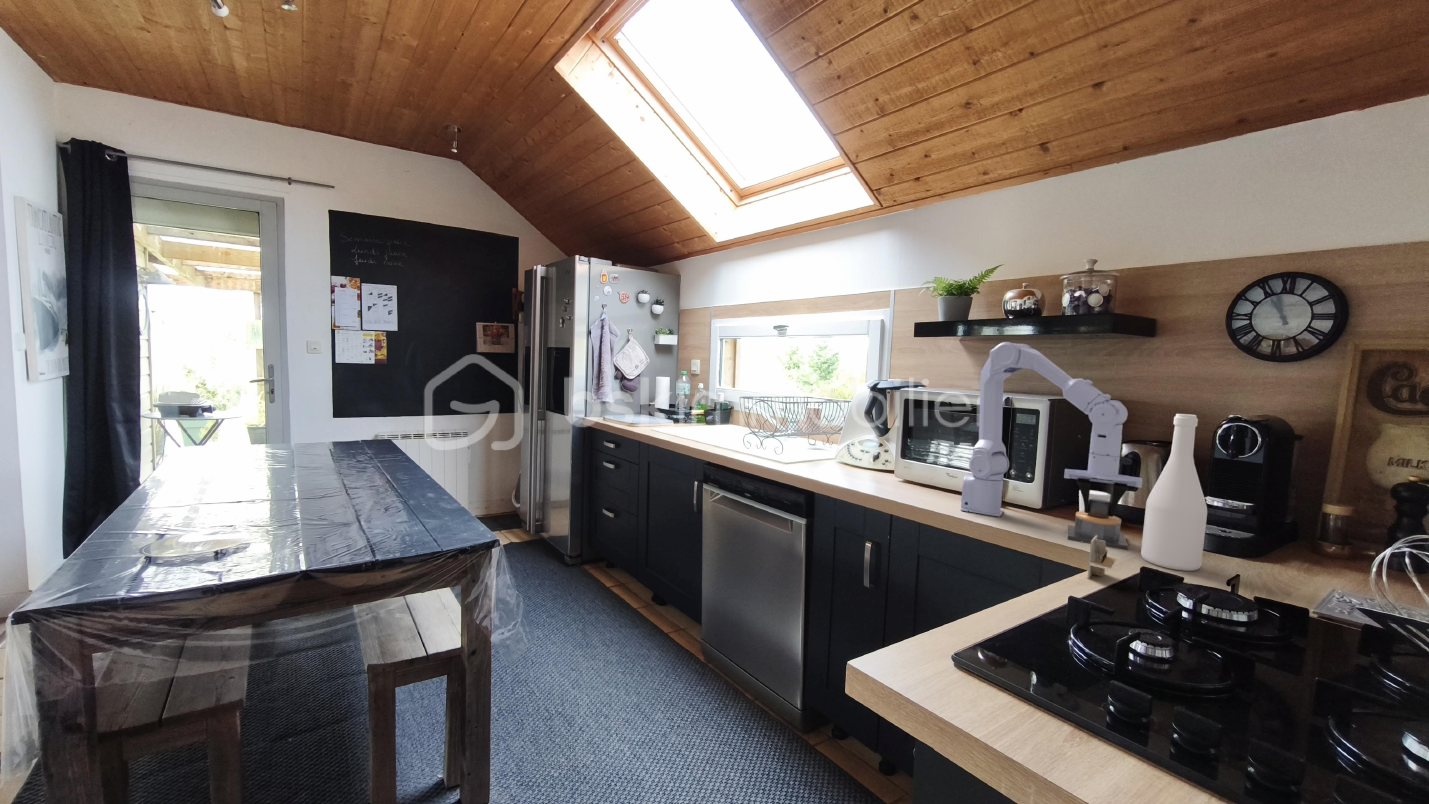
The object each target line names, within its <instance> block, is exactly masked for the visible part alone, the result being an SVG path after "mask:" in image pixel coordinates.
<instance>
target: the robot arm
mask: <svg viewBox="0 0 1429 804" xmlns="http://www.w3.org/2000/svg"><path fill="white" fill-rule="evenodd" d="M1023 369H1026V370H1033V371H1035V372H1036V373H1038V374H1039V375H1041V377H1044V378H1045V379H1047V380H1048V381H1049V382H1051V383H1052V384H1054V385H1056V386H1057V387H1059V388H1060V389H1062V390H1061V391H1062V396H1063V398H1064V399H1065V400H1067V401H1068V402H1070V403H1071V404H1072V405H1073V406H1075V407H1076V408H1078V410H1080V411H1081V412H1083V413H1084V414H1085V415H1088V419H1089V422H1091V423H1092V427H1091V433H1090V444H1089V453H1088V464H1087V470H1082V469H1072V468H1071V469H1070V468H1065V469H1064V475H1063V478H1064V479H1074V480H1076V482H1077V486H1078V489H1079V490H1080V491H1081V493H1082V497H1083V501H1084V512H1085V513H1088V512H1089V493H1090V490H1091V482H1096V483H1105V484H1112V485H1111V494H1110V495H1111V497H1110V511H1109V516H1110V517H1113V516H1114V513H1115V511H1116V508H1117V506H1118V504H1119V502H1120V501H1121V499H1122V498H1123V496H1124V495H1125V493H1126V492H1127V491H1128V486H1129V487H1135V488H1140V489H1141V488H1143V478H1142V477H1136V476H1130V475H1124V474H1119V468H1120V467H1119V466H1120V459H1121V458H1120V457H1121V449H1122V448H1121V447H1122V440H1123V439H1122V438H1123V434H1122V433H1123V424H1124V423H1125V422H1126V421H1127V419H1128V416H1129V412H1128V409H1127V407H1126V406H1125V405H1124V404H1123V403H1122V402H1121V401H1120V400H1111V398H1112V395H1110V394H1108V393H1106V394H1105V393H1103V391H1101V390H1100V389H1098V388H1096V387H1095V386H1093V384H1094V381H1091V380H1090V379H1086V380H1085V379H1084V378H1081V377H1080V378H1073V377H1071V376H1070V375H1069V374H1067V373H1066V372H1065V371H1064V370H1063V369H1061V368H1060V367H1059V366H1057V365H1056V364H1055V363H1054V362H1052V361H1051V360H1050V359H1049V358H1047V357H1046V356H1045V355H1044V354H1042V352H1040V351H1038V350H1037V349H1035V348H1032V347H1031V346H1030V345H1028V344H1026V343H1014V342H1009V341H1004V342H1000V343H999V344H997V345H995V347H994V348H992V349H990V350H989V357H988V359H987V360H986V362H985V363H984V366H983V368H982V369H981V372H980V383H979V384H980V387H979V388H980V390H979V391H980V392H979V422H978V441H977V442H976V444H975V445H974V447H973V448H972V455H971V457H970V459H969V462H968V468H969V471H970V472H971V474H972V475H966V474H965V475H964V477H963V481H962V491H961V497H960V511H963V512H968V511H969V513H976V514H981V515H987V516H994V517H999V518H1000V517H1001V516H1002V514H1003V512H1004V509H1003V508H1002V507H1001V506H1002V498H1003V486H1004V474H1005V473H1006V472H1008V470H1009V467H1010V461H1009V457H1008V456H1007V448H1006V446H1005V444H1004V442H1003V440H1002V439H1003V410H1004V409H1003V408H1004V381H1005V380H1006V379H1007V378H1009V377H1010V376H1012V375H1013V374H1014V373H1016V372H1018V371H1021V370H1023Z"/></svg>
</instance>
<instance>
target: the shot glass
mask: <svg viewBox="0 0 1429 804" xmlns="http://www.w3.org/2000/svg"><path fill="white" fill-rule="evenodd" d="M1078 492H1079V493H1078V496H1079V497H1078V502H1079V504H1078V505H1079V506H1078V508H1079V511H1084V501H1083V497H1082V493H1081V491H1080V489H1079V491H1078ZM1089 499H1100V500H1105V501H1109V502H1111V494H1110V493H1109V492H1105V491H1099V490H1096V489H1095V490H1093V489H1090V493H1089Z"/></svg>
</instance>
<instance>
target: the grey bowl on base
mask: <svg viewBox="0 0 1429 804" xmlns="http://www.w3.org/2000/svg"><path fill="white" fill-rule="evenodd" d="M1074 521H1075V522H1074V525H1069V524H1067V540H1070V541H1075V540H1076V542H1081V541H1083V542H1082V543H1086V542H1087V544H1091V541H1092V539H1093V538H1094V537H1095V536H1096V535H1097V539H1098V540H1103V541H1105V543H1106V547H1110V548H1117V549H1122V550H1127V551H1128V549H1129V544H1128V542H1127V540H1126V537H1125V535H1124V533H1121V526H1122V525H1121V524H1120V525H1103V524H1096V523H1091V522H1087V521H1084V520H1081V519H1078V518H1077V517H1076V516H1075V520H1074Z"/></svg>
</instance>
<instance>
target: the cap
mask: <svg viewBox="0 0 1429 804" xmlns="http://www.w3.org/2000/svg"><path fill="white" fill-rule="evenodd" d="M1110 503H1111V501H1105V500H1100V499H1089V512H1088V513H1085V512H1084V511H1076V512H1075V518H1076V517H1077V518H1078V519H1081V520H1084V521H1087V522H1091V523H1096V524H1103V525H1120V524H1121V523H1122V519H1121V518H1120V517H1118V516H1116V515H1113V517H1110V516H1109V511H1110Z"/></svg>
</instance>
